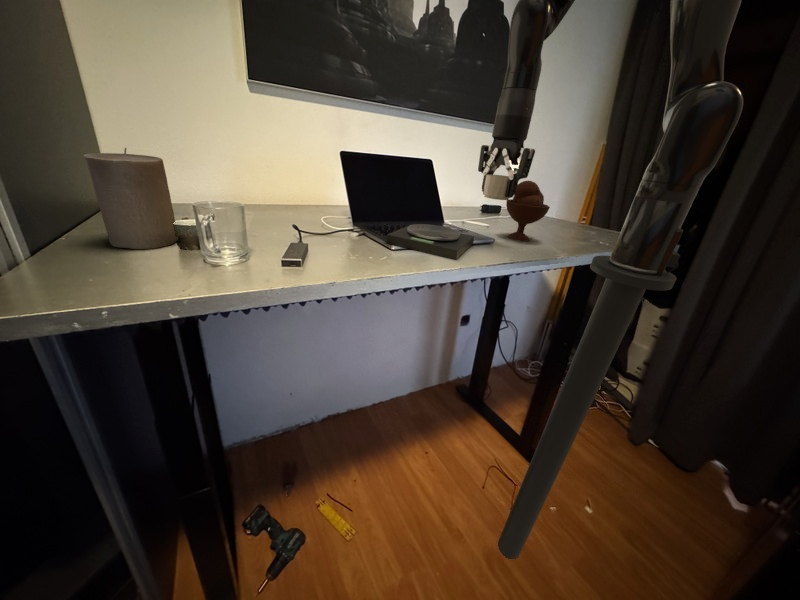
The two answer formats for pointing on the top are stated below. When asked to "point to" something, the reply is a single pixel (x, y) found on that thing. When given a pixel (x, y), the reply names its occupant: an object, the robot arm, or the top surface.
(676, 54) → the robot arm
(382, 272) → the top surface
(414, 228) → the scale pan
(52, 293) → the top surface
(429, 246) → the scale
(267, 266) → the top surface
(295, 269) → the top surface
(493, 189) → the squat beige cylinder
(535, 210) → the ice cream bowl
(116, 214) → the pillar candle
